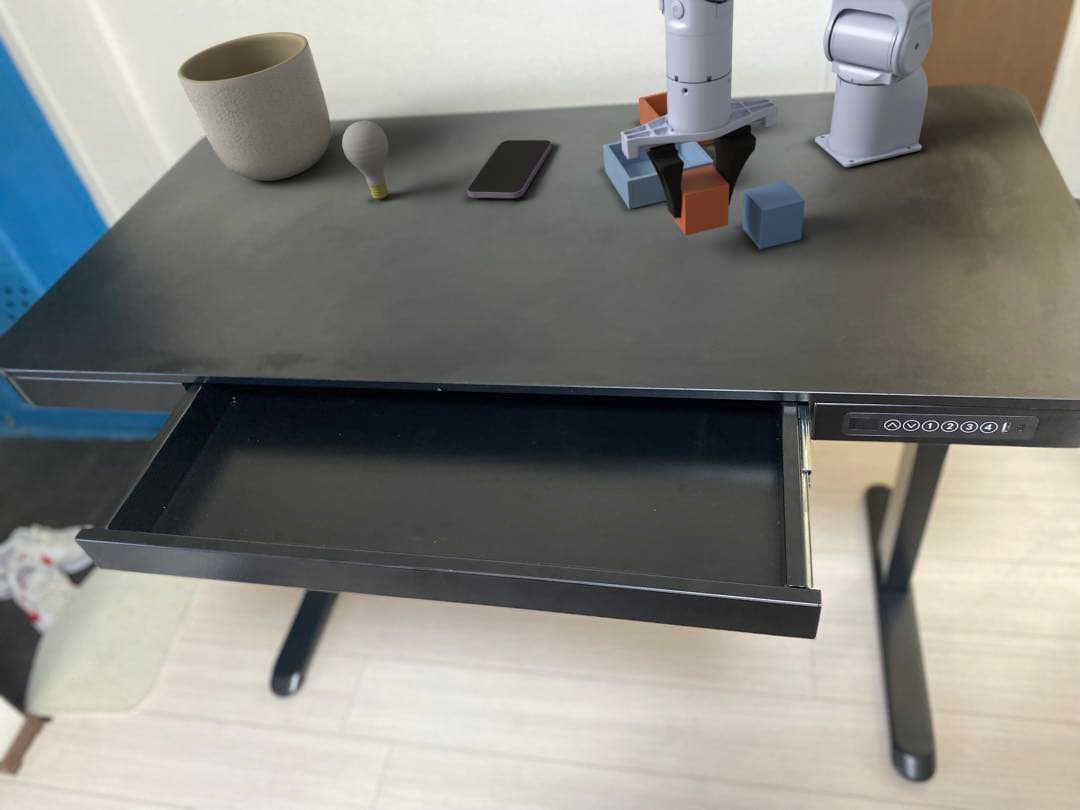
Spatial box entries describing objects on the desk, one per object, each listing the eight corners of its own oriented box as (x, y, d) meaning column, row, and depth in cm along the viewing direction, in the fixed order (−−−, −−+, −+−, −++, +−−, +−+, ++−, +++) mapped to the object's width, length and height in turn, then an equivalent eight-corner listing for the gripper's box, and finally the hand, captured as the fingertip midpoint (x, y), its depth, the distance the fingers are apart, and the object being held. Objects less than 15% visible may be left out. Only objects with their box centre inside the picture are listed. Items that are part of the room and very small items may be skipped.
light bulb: (410, 189, 102) (389, 114, 95) (387, 211, 98) (364, 134, 92) (375, 186, 104) (353, 111, 97) (352, 206, 101) (327, 131, 94)
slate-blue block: (782, 218, 85) (785, 180, 82) (801, 239, 82) (805, 200, 79) (742, 228, 85) (744, 190, 82) (759, 249, 81) (762, 210, 78)
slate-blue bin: (683, 153, 99) (683, 126, 97) (713, 189, 91) (714, 161, 89) (604, 171, 98) (602, 144, 96) (629, 209, 91) (627, 181, 88)
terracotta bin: (711, 106, 108) (712, 81, 105) (741, 136, 100) (742, 109, 98) (639, 123, 107) (638, 97, 105) (664, 154, 99) (663, 127, 97)
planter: (304, 196, 104) (261, 81, 94) (200, 192, 110) (149, 82, 100) (363, 138, 116) (331, 29, 105) (267, 136, 121) (227, 33, 111)
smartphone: (553, 139, 105) (520, 193, 95) (554, 148, 106) (521, 201, 95) (502, 140, 107) (463, 192, 97) (503, 147, 108) (465, 200, 97)
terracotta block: (711, 204, 82) (712, 164, 79) (728, 225, 79) (729, 184, 76) (670, 214, 82) (669, 174, 79) (685, 236, 78) (684, 195, 75)
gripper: (757, 39, 73) (751, 173, 83) (607, 73, 73) (618, 205, 82) (791, 64, 68) (780, 204, 78) (630, 101, 67) (638, 238, 77)
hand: (699, 207), depth 79 cm, fingers closed on terracotta block, 4 cm apart
